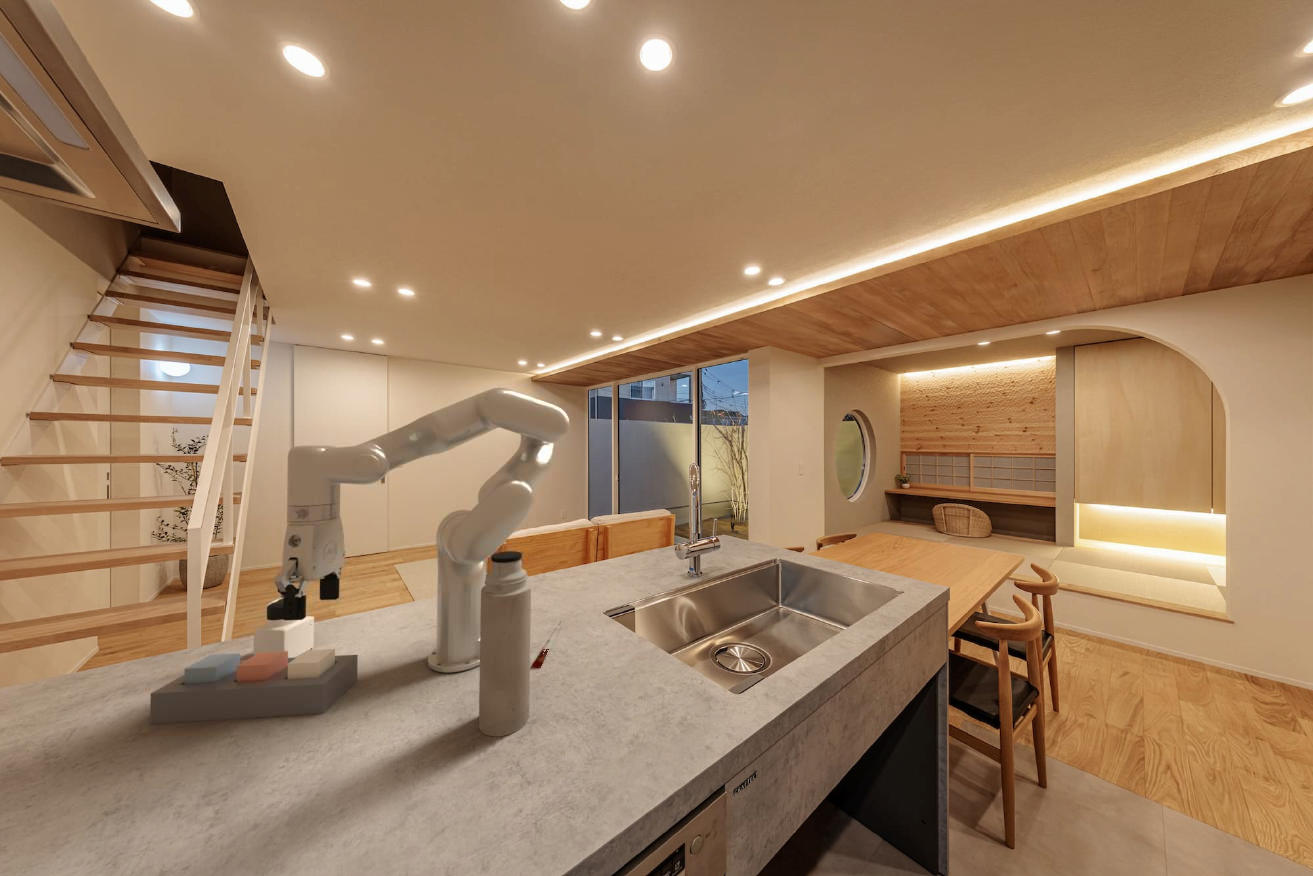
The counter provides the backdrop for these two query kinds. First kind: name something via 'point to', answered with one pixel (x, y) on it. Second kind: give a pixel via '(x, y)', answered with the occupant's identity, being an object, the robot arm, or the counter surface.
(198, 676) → the slate-blue key
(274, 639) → the medicine bottle
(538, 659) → the red handled knife
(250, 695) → the key panel
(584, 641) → the counter surface
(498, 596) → the thermos bottle
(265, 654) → the terracotta key
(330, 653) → the off-white key
